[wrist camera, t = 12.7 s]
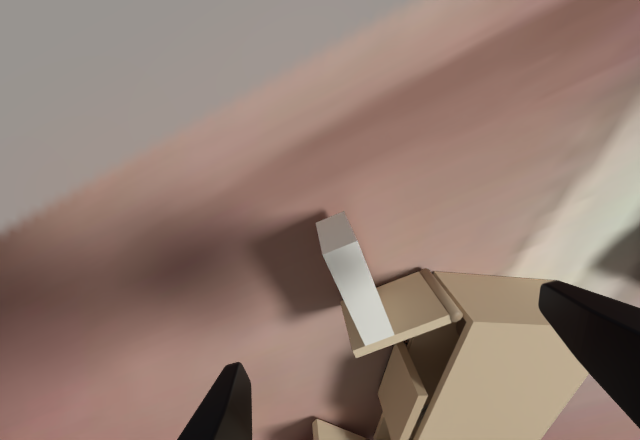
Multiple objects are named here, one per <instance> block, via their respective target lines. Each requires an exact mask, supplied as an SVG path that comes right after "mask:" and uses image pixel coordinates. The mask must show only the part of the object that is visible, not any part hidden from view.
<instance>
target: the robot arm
mask: <svg viewBox="0 0 640 440" xmlns="http://www.w3.org/2000/svg"><path fill="white" fill-rule="evenodd" d="M538 306H539V309H540V311H541V313H542V315H543V316H544V317H545V319H546V320H547V321H548V322H549V324H550V325H551V326H552V328H553V329H554V330H555V332H556V333H557V334H558V336H559V337H560V338H561V340H562V341H563V342H564V343H565V345H566V346H567V347H568V349H569V350H570V351H571V353H572V354H573V355H574V356H575V358H576V359H577V360H578V361H579V362H580V364H581V365H582V366H583V367H584V368H585V369H586V370H587V371H588V373H589V374H590V375H591V376H592V377H593V378H594V379H595V380H596V381H597V382H598V384H599V385H600V386H601V387H602V388H603V389H604V390H605V391H606V392H607V393H608V394H609V396H610V397H611V398H612V399H613V400H614V401H615V402H616V403H617V404H618V405H619V407H620V408H621V409H622V410H623V411H624V412H625V413H626V414H627V415H628V416H629V417H630V419H631V420H632V421H633V422H634V423H635V424H636V425H637V426H638V427H639V428H640V308H638V307H635V306H632V305H629V304H626V303H623V302H621V301H618V300H615V299H612V298H609V297H606V296H603V295H600V294H597V293H594V292H591V291H588V290H585V289H582V288H579V287H576V286H573V285H570V284H567V283H564V282H561V281H557V280H555V281H550V282H546V283H543V284H542V285H541V286H540V293H539V302H538ZM177 440H252V398H251V382H250V379H249V377H248V375H247V373H246V371H245V369H244V367H243V365H242V364H241V363H240V362H236V363H232V364H228V365H226V366H225V367H224V369H223V370H222V372H221V373H220V375H219V376H218V378H217V380H216V381H215V383H214V384H213V386H212V387H211V389H210V390H209V392H208V393H207V395H206V396H205V398H204V399H203V401H202V402H201V404H200V405H199V407H198V409H197V410H196V412H195V413H194V415H193V416H192V418H191V419H190V421H189V422H188V424H187V425H186V427H185V428H184V430H183V431H182V433H181V435H180V436H179V438H178V439H177Z"/></svg>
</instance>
